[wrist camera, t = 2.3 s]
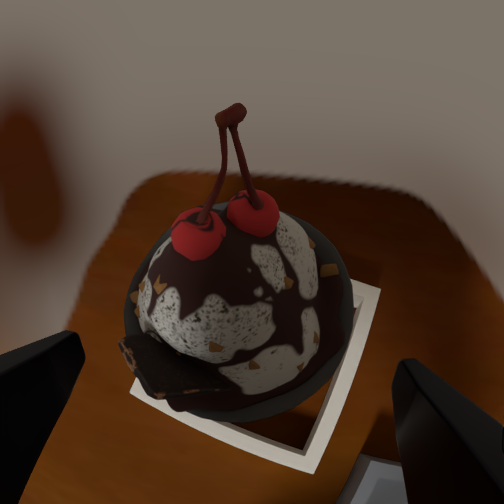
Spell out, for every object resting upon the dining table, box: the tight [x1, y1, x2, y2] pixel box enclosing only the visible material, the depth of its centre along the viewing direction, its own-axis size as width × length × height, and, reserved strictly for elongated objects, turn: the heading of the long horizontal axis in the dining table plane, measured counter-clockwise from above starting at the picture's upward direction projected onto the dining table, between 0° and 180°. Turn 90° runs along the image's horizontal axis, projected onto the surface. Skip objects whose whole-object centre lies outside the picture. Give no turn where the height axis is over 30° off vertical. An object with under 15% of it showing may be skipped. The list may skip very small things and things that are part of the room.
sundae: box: [118, 103, 354, 423], centre depth 11 cm, size 7×7×15 cm
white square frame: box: [129, 279, 381, 474], centre depth 17 cm, size 11×11×2 cm
